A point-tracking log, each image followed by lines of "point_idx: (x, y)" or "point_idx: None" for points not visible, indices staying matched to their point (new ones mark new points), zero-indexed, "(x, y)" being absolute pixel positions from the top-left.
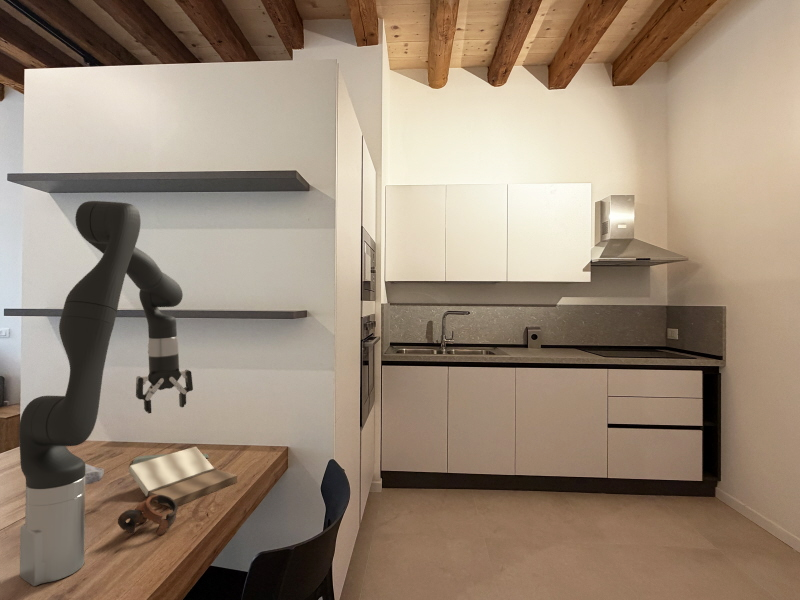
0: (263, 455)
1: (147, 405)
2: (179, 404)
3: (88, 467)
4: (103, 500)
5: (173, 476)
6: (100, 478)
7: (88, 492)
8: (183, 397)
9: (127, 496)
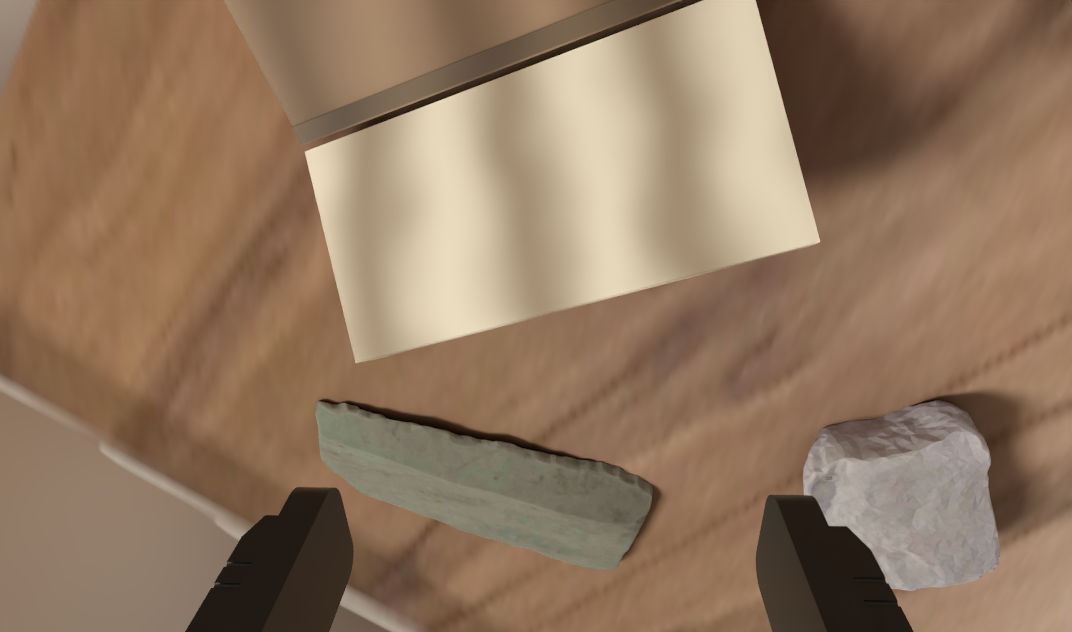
0: (42, 273)
1: (865, 617)
2: (347, 578)
3: None
4: (933, 142)
5: (560, 101)
6: (822, 434)
7: (931, 310)
8: (230, 616)
9: (813, 117)
